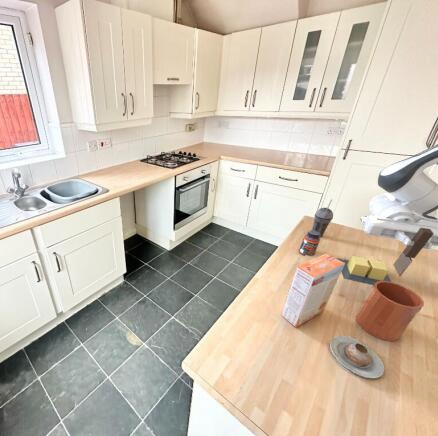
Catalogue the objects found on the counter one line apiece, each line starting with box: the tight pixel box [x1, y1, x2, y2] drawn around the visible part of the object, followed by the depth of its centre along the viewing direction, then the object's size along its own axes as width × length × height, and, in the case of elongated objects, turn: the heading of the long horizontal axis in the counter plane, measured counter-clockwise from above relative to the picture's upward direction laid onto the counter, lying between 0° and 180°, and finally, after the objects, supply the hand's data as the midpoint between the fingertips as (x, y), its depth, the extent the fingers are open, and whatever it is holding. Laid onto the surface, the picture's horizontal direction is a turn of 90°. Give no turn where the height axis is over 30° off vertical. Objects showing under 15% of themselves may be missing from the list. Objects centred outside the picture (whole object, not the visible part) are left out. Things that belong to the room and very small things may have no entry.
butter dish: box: [336, 257, 393, 286], centre depth 96 cm, size 16×14×1 cm
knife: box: [392, 228, 434, 277], centre depth 69 cm, size 2×5×15 cm, turn 155°
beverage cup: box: [311, 199, 334, 238], centre depth 116 cm, size 7×7×20 cm
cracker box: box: [280, 253, 345, 328], centre depth 76 cm, size 14×6×21 cm, turn 115°
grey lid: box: [329, 335, 385, 379], centre depth 66 cm, size 12×12×5 cm
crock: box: [355, 281, 425, 342], centre depth 73 cm, size 10×10×14 cm
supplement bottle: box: [298, 229, 321, 257], centre depth 106 cm, size 6×6×11 cm
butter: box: [347, 255, 389, 281], centre depth 95 cm, size 10×6×5 cm, turn 66°
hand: (419, 245), depth 66 cm, fingers closed on knife, 2 cm apart
